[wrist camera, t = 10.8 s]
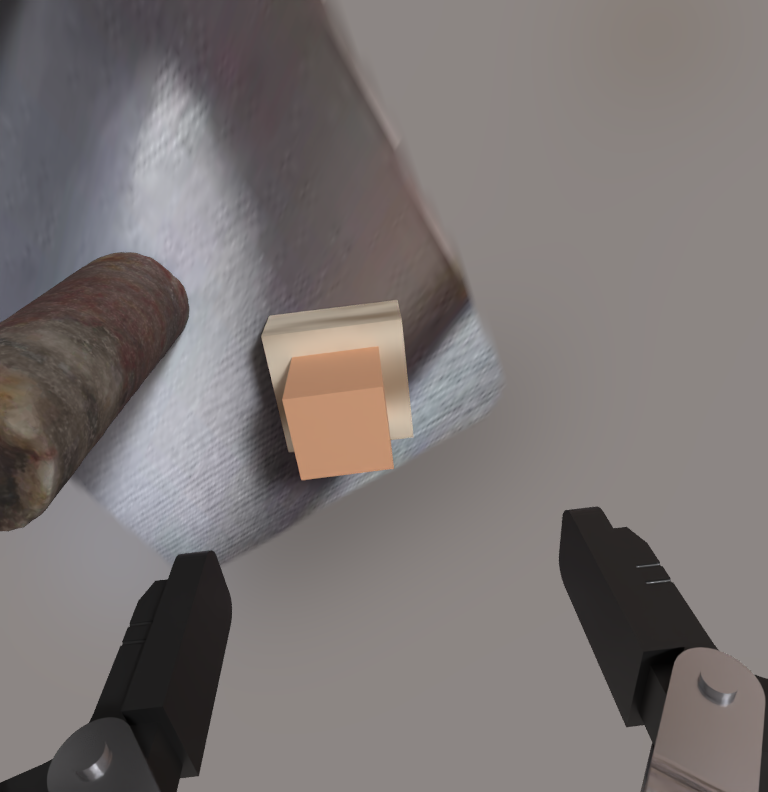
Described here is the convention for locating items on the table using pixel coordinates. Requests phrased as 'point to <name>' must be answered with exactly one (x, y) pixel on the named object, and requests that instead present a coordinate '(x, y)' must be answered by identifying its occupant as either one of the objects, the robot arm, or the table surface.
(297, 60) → the table surface
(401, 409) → the oak plinth
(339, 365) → the terracotta cube
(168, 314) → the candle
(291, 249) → the table surface
